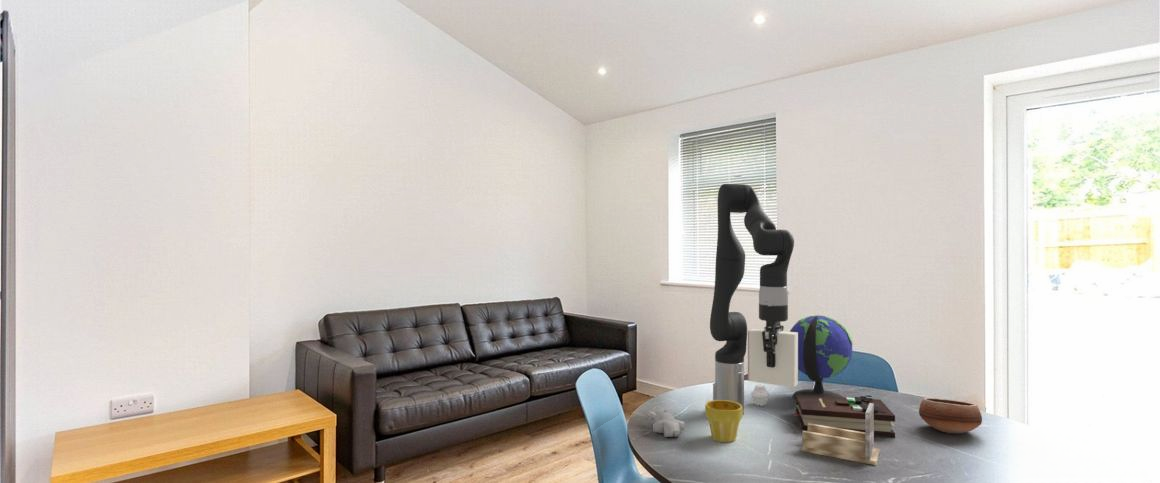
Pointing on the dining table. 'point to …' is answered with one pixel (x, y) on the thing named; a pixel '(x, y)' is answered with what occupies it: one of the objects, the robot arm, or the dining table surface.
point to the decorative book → (843, 413)
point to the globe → (821, 351)
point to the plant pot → (723, 419)
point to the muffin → (760, 395)
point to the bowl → (950, 415)
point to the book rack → (843, 441)
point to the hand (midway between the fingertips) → (773, 365)
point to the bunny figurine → (666, 423)
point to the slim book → (784, 359)
